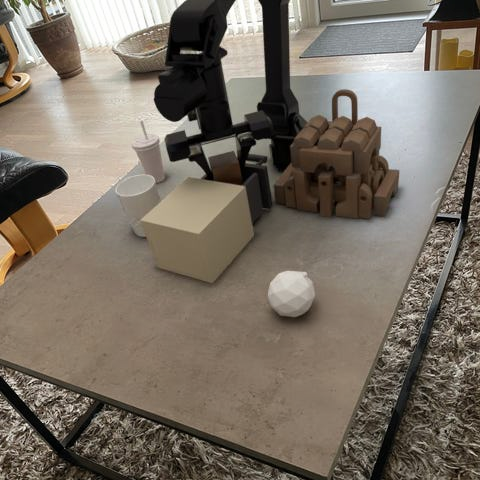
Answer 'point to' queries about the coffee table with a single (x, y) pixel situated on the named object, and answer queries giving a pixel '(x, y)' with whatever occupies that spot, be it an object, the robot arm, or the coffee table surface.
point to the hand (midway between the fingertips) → (227, 179)
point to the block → (226, 168)
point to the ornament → (291, 293)
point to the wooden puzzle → (338, 167)
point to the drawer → (256, 185)
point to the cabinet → (199, 228)
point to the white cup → (138, 199)
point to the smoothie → (149, 154)
